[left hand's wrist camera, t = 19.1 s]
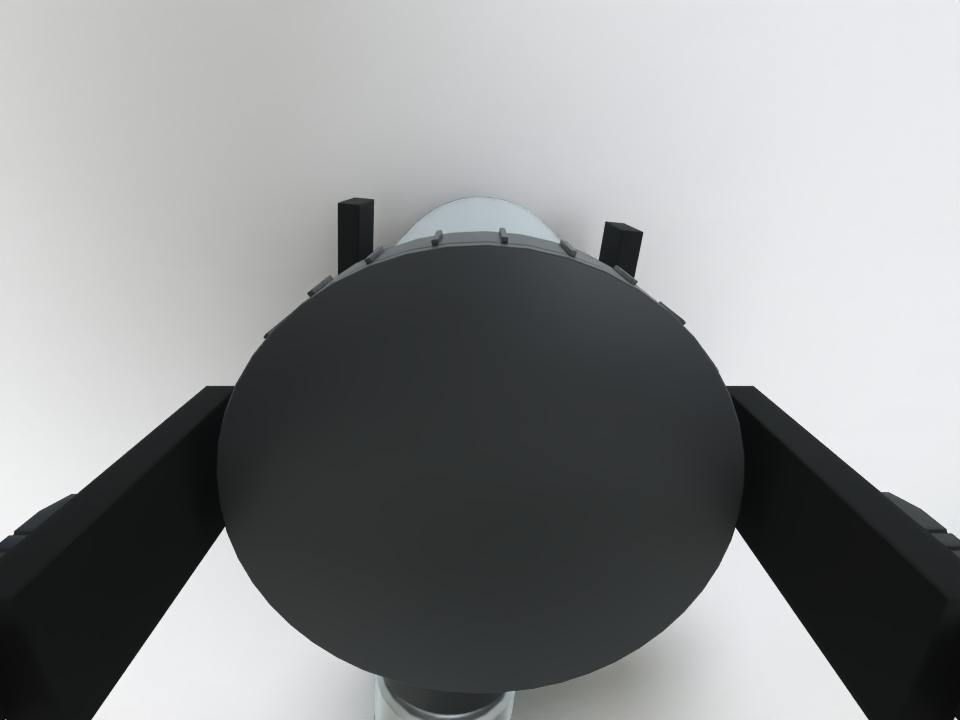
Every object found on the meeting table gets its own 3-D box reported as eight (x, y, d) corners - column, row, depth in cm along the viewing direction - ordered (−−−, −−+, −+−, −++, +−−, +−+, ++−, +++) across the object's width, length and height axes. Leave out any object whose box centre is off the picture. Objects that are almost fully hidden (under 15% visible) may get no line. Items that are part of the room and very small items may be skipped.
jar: (352, 279, 27) (158, 461, 11) (493, 154, 25) (519, 149, 9) (468, 405, 30) (455, 708, 13) (606, 303, 27) (788, 513, 11)
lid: (771, 532, 13) (816, 591, 11) (406, 681, 15) (396, 750, 13) (595, 122, 10) (620, 115, 8) (152, 376, 11) (94, 416, 10)
